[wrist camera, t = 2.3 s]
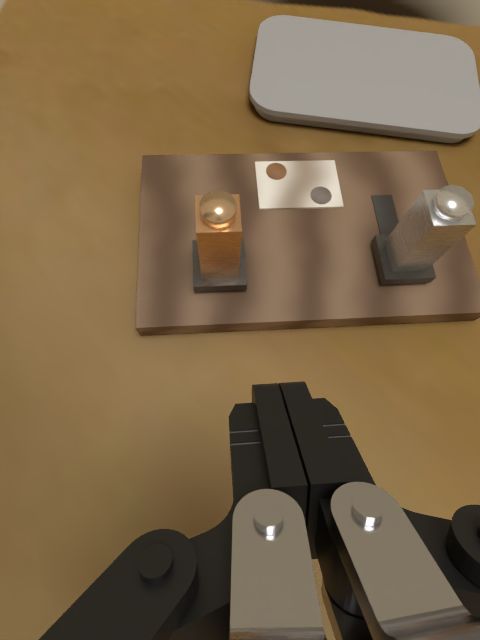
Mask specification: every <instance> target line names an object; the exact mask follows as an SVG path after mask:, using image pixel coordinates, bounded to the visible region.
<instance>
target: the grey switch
mask: <svg viewBox="0 0 480 640" xmlns="http://www.w3.org/2000/svg"><path fill="white" fill-rule="evenodd" d="M473 206H474V200H473V197H472V195H471V194H470V193H469V192H468V191H467V190H466V189H464V188H462V187H460V186H456V185H448V186H445V187H443V188H442V189H441V190H423V191H422V192H421V194H420V195H419V196H418V198H417V199H416V200H415V202H414V203H413V204H412V206H411V207H410V208H409V210H408V211H407V212H406V214H405V215H404V216H403V218H402V219H401V220H400V222H399V223H398V224H397V226H396V227H395V228H394V230H393V231H392V232H391V234H381V235H375V236H374V237H373V239H372V240H371V243H372V247H373V252H374V257H375V261H376V266H377V270H378V275H379V279H380V284H381V285H389V284H415V283H431V282H432V281H433V280H434V279H435V278H436V275H435V271H434V268H433V264H434V263H435V262H436V261H437V260H438V259H439V258H441V257H442V256H443V255H444V254H445V253H446V252H447V251H448V250H449V249H450V248H451V247H452V246H454V245H455V244H456V243H457V242H458V241H459V240H460V239H461V238H462V237H463V236H464V235H466V234H467V233H468V232H469V231H470V230H471V229H472V228H473V227H474V226H475V225H476V222H475V220H474V217H473V214H472V211H471V210H472V209H473Z"/></svg>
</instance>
